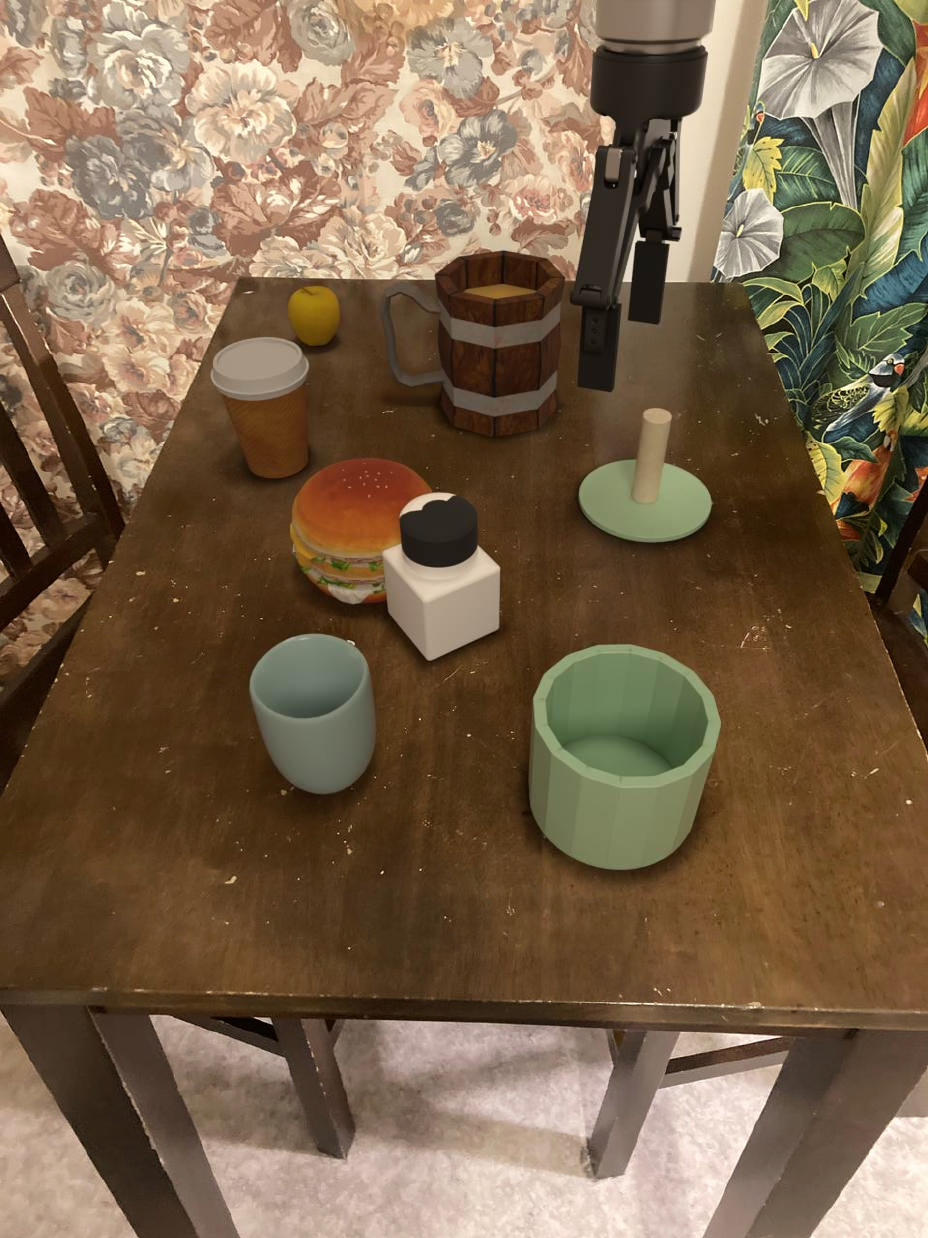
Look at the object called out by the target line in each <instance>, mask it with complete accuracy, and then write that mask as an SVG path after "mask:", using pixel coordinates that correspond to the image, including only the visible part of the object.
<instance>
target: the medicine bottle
mask: <svg viewBox="0 0 928 1238" xmlns="http://www.w3.org/2000/svg"><path fill="white" fill-rule="evenodd" d="M399 522H400V534H401V544H399V545H396V546H394V547H392V548H389V549H387V550H384V551H383V553H382V558H383V567H384V577H385V586H386V595H387V600H386V604H387V612H388V614H389V615H390V616H391V617H392V619H393V620H394V621H395V623H396V624H397V625H398V626H399V628H401V630H402V631H403V632H404V633H405V635H406V636H407V638H409V640H410V641H411V642H412V643H413V644H414V645H415V647H416V648H417V649H418V650H419V652H420V653H421V654H422V655H423V657H424V658H425V659H426V660H427V661H430V662H431V661H433V660H436V659H438V658H440V657H443V656H444V655H446V654H449V653H451V652H453V651H455V650H457V649H459V648H461V647H464V646H466V645H468V644H470V643H472V642H474V641H476V640H479V639H481V638H483V637H486V636H487V635H490V634H491V633H494V632H496V631H498V630H499V629H500V621H501V620H500V619H501V618H500V617H501V615H500V613H501V566H500V565H499V564H498V563H497V562H495V560H494V559H493V558H492V557H491V556H490V555H489V554H488V553H487V552H485V550H484V549H482V547H481V546H480V545H479V527H478V526H479V515H478V511H477V509H476V508H475V506H474V505H473V504H472V503H471V502H470V501H468V499H466V498H464V497H462V496H460V495H457V494H455V493H450V492H432V493H430V494H425V495H422V496H419V497H417V498H415V499H413V500H412V501H410V502H409V503H408V504H407V505H406V506H405V507H404V508H403V510H402V511H401V513H400V517H399Z"/></svg>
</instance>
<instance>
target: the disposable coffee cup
mask: <svg viewBox="0 0 928 1238" xmlns="http://www.w3.org/2000/svg"><path fill="white" fill-rule="evenodd" d="M213 357H214V358H213V360H212V368H211V371H210V379H211V382H212V384H213V386H215V388H216V389H217V390H218V391H219V393H220V396H221V399H222V400H223V403H224V405H225V408H226V411H227V413H228V416H229V419H230V421H231V424H232V427H233V430H234V432H235V434H236V436H237V440H238V442H239V444H240V446H241V450H242V452H243V455H244V458H245V460H246V462H247V465H248V468H249V470H250V472H252V473H253V474H254V475H256V476H258V477H260V478H265V479H282V478H287V477H290V476H293V475H296V474H297V473H299V472H301V471H302V470H303V469H305V467H306V466H307V465H308V463H309V439H308V437H309V435H308V408H307V407H308V406H307V405H308V404H307V378H308V374H309V369H310V363H309V361H308V358H307V357H305V355H304V353H303V351H302V349H301V347H300V346H299V345H298V344H297V343H295V342H293V341H290V340H287V339H285V338H280V337H270V336H261V337H259V336H258V337H251V338H247V339H243V340H239V341H236V342H233V343H231V344H229V345H227V346H225V347H224V348H222V349H220V350H219V351H218V352H217V353H216V354H215V356H213Z"/></svg>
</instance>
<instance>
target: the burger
mask: <svg viewBox="0 0 928 1238" xmlns="http://www.w3.org/2000/svg"><path fill="white" fill-rule="evenodd" d="M430 493H433V490H432V488H431V487H430V485H429V484H428V483H427V482H426V480H425V479H423V478H422V477H421V476H420V475H419V474H418V473H417V472H416V471H415V470H413V469H412V468H410V467H408V466H407V465H404V464H402V463H400V462H397V461H394V460H391V459H385V458H380V457H379V458H378V457H360V458H350V459H346V460H343V461H339V462H335V463H332V464H330V465H328V466H326V467H325V468H322V469H321V470H319V471H318V472H316V473H315V474H314V475H312V476H311V477H310V478H308V479H307V480H306V481H305V483H304V484H303V486H302V487H301V489H300V490H299V491H298V493H297V494H296V496H294V497H295V498H294V501H293V504H292V508H291V522H290V524H289V528H290V530H289V532H290V539H291V541H292V543H293V545H292V552H291V553H292V554H293V555H294V557H295V559H296V560H297V564H298V566H299V568H300V570H301V572H302V573H303V574H305V575H306V576H307V578H308V579H309V580H310V581H311V583H313V584H314V585H315V586H316V587H317V588H318V589H319V590H321V591H322V592H323V593H325V594H326V595H327V596H329V597H332V598H334V599H337V600H339V602H343V603H346V604H351V605H355V604H374V603H375V604H376V603H381V602H385V601H386V602H387V595H386V586H385V577H384V567H383V558H382V553H383V551H384V550H387V549H389V548H392V547H394V546H396V545H399V544H401V534H400V522H399V517H400V513H401V511H402V510H403V508H404V507H405V506H406V505H407V504H408V503H409V502H410V501H412V500H413V499H415V498H417V497H419V496H422V495H425V494H430Z"/></svg>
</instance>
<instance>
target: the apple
mask: <svg viewBox="0 0 928 1238" xmlns="http://www.w3.org/2000/svg"><path fill="white" fill-rule="evenodd" d="M299 288H300V289H298V290H296V291H294V293H293V294H292V295H291V297H290V298H289V300H288V305H287V316H288V320H289V324H290V326H291V327H292V329H293V331H294V332H295V334H296V335H297V338H298V339H299V340H300V341H301V342H302V343H303V344H306V345H308V346H309V347H317V346H321V347H322V346H326V345H327V344H329V342H330V341H331V340H332V339H333V337H334V336H335V334H336V333H337V330H338V328H339V326H340V321H341V308H340V303H339V300H338V297H337V295H336V294H335V293H334V292H333V291H332V290H331V289H330V288H329V287H326V286H322V285H310V286H305V287H303V286H301V285H299Z"/></svg>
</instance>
